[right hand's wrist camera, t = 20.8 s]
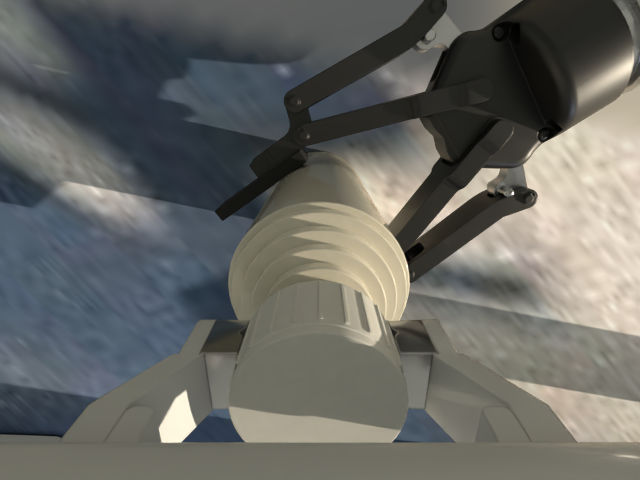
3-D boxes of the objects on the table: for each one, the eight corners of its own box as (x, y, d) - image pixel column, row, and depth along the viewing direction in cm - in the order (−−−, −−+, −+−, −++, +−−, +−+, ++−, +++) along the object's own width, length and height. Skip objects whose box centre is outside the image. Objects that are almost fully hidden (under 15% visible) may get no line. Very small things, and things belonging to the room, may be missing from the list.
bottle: (359, 148, 28) (475, 250, 7) (361, 229, 30) (451, 481, 10) (274, 154, 28) (144, 270, 7) (282, 234, 30) (203, 492, 10)
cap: (221, 358, 10) (193, 428, 8) (297, 250, 9) (290, 295, 7) (336, 417, 11) (340, 495, 9) (420, 325, 10) (450, 388, 8)
